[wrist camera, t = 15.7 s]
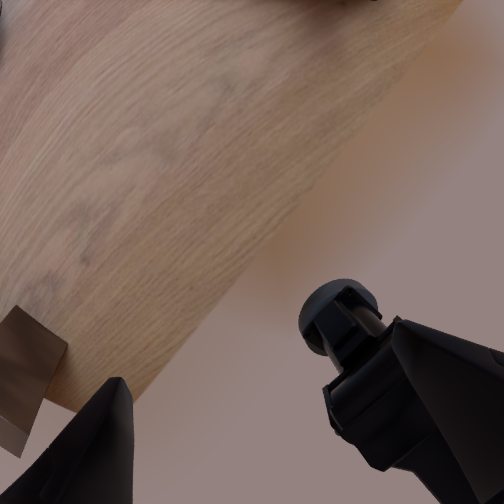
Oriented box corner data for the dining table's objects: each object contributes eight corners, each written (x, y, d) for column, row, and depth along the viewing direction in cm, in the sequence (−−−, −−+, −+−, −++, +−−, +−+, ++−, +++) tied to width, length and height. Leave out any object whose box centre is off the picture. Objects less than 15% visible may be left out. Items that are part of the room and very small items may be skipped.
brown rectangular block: (68, 343, 21) (29, 435, 11) (51, 377, 22) (20, 458, 12) (16, 304, 19) (-43, 381, 9) (4, 343, 20) (-40, 416, 10)
